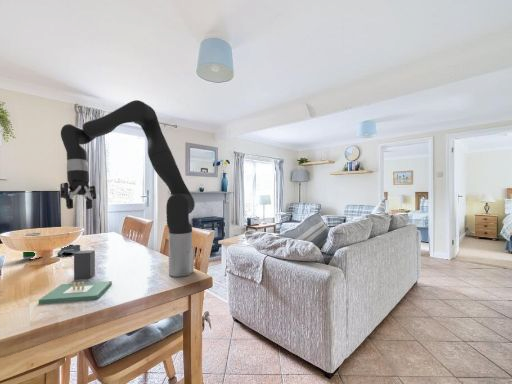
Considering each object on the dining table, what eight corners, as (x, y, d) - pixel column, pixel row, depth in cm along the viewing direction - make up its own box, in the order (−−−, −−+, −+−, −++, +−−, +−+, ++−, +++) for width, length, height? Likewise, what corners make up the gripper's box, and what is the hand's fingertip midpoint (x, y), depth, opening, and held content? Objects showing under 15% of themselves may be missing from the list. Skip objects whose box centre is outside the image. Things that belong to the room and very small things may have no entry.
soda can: (42, 258, 118) (42, 234, 118) (21, 261, 114) (21, 236, 114) (44, 255, 124) (44, 232, 124) (24, 257, 120) (24, 233, 120)
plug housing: (94, 274, 98) (94, 250, 97) (90, 278, 94) (90, 252, 93) (79, 275, 96) (79, 250, 96) (74, 279, 92) (73, 253, 92)
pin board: (111, 284, 88) (111, 274, 88) (97, 299, 76) (97, 287, 76) (61, 287, 85) (61, 277, 85) (38, 303, 73) (38, 291, 73)
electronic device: (58, 254, 132) (56, 257, 120) (60, 244, 133) (58, 246, 121) (79, 254, 137) (79, 257, 125) (81, 244, 138) (80, 246, 126)
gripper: (68, 166, 95) (71, 207, 93) (99, 172, 109) (101, 207, 107) (53, 170, 97) (55, 210, 95) (85, 175, 111) (87, 210, 109)
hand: (80, 208), depth 101 cm, fingers open, 8 cm apart
